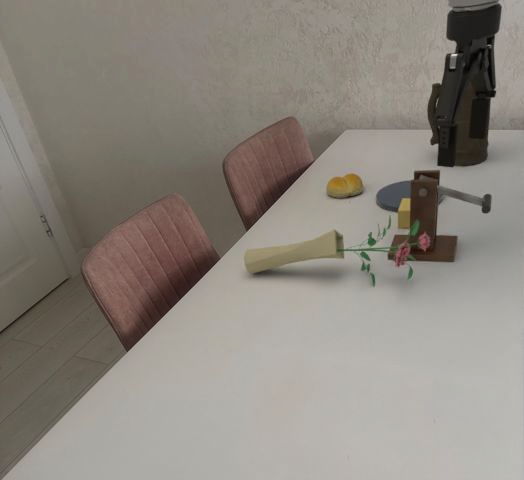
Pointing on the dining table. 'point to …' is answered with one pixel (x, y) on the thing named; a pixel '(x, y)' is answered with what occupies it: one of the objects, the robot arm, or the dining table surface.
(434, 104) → the beer stein
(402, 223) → the butter pat
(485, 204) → the grey t-shaped bar
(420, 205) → the brown wooden stand
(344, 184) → the bread roll
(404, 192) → the plate
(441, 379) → the dining table surface
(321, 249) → the flower vase
